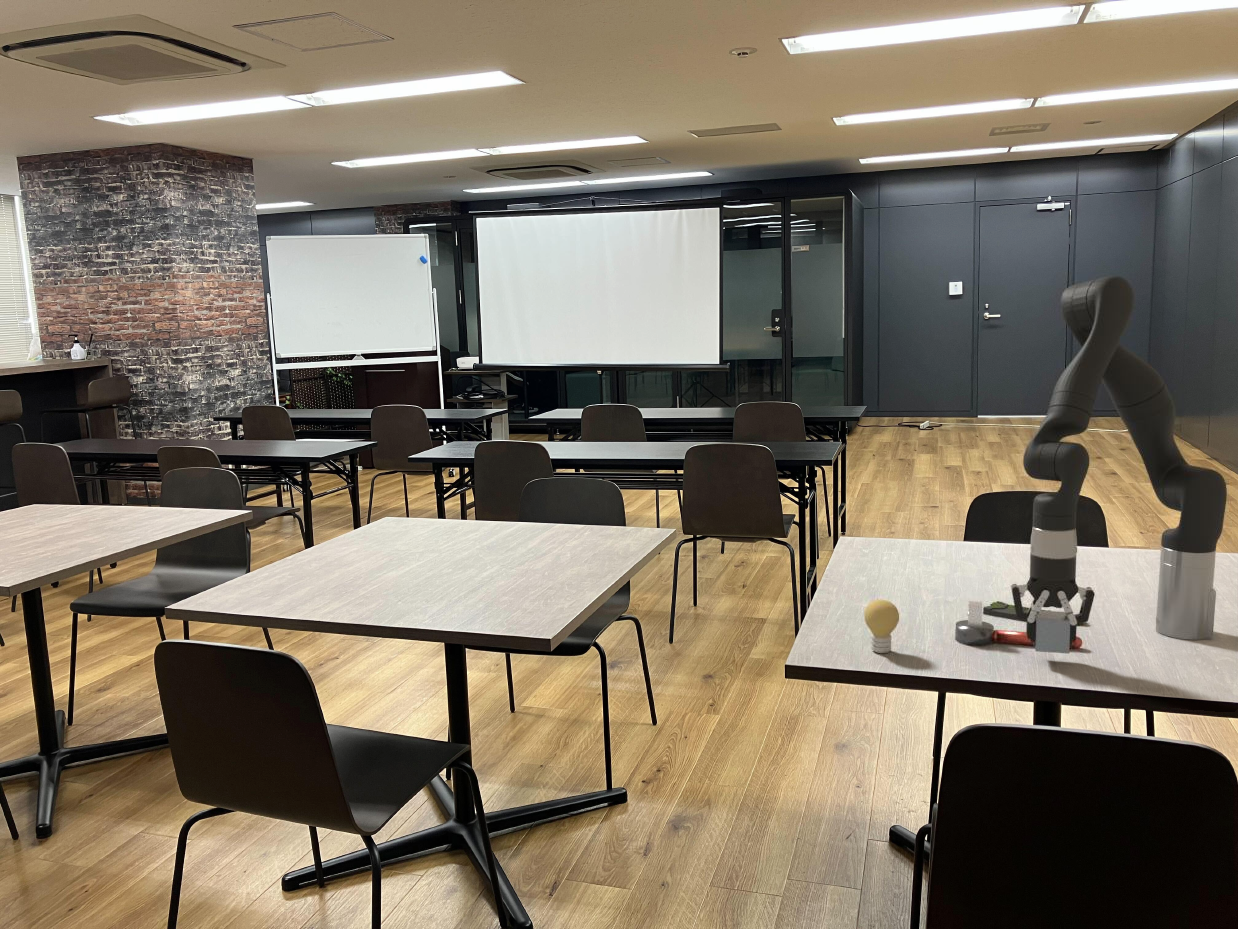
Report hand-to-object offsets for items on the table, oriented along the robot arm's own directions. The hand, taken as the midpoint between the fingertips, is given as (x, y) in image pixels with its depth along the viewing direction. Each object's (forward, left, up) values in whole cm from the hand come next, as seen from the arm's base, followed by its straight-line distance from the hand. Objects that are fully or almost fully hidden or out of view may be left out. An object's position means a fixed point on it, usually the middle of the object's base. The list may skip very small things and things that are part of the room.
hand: (1050, 641), depth 173 cm
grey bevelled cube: (0, 0, -1) cm, 1 cm away
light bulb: (+30, +2, -4) cm, 30 cm away
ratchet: (+5, -9, -4) cm, 11 cm away
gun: (+2, -24, -5) cm, 25 cm away
